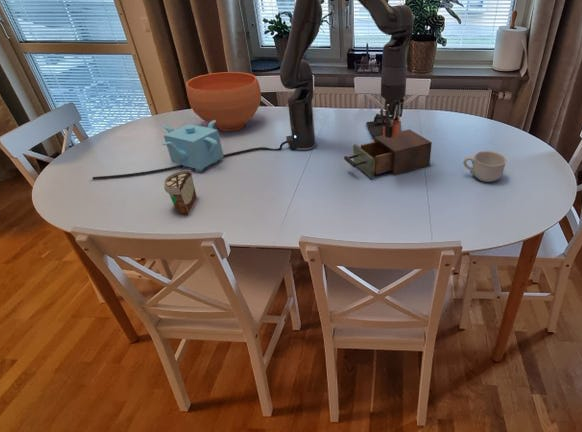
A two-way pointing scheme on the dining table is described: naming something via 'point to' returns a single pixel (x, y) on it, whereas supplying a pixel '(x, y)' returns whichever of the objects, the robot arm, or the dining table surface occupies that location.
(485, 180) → the teacup
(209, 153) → the teakettle
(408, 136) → the cabinet
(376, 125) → the dark slate chunk
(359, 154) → the drawer
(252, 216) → the dining table surface
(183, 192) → the brown and cream wedge
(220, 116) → the bowl
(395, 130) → the block
